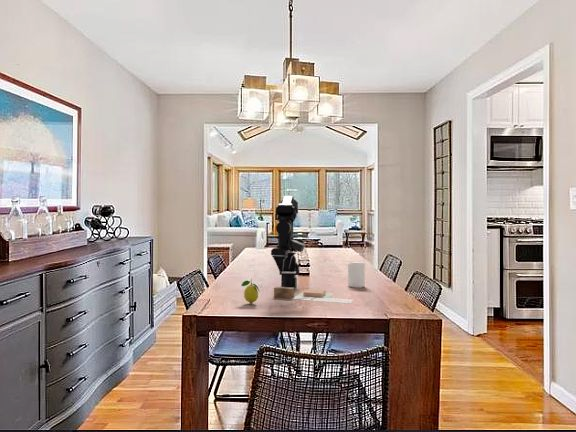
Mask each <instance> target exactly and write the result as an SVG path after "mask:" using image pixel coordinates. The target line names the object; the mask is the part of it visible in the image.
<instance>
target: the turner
mask: <svg viewBox="0 0 576 432" xmlns="http://www.w3.org/2000/svg"><path fill="white" fill-rule="evenodd" d="M273 298H277V299H278V298H280V299H290V300H294V301H308V302H309V301H311V300H314V299H315V297H303V296H297V295H295V288H291V287H281V286H275V287H274V288H273Z"/></svg>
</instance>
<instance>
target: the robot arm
mask: <svg viewBox="0 0 576 432" xmlns="http://www.w3.org/2000/svg"><path fill="white" fill-rule="evenodd" d="M297 214H299V202H298V201H297V200H296V199H295V198H294V195H293V196H292V195H283V196H282V199H281V201H280V202H279V203H278V204H277V206H275V216H274V220H275V221H278V222H277V224H276V226H275V231H276V232H277V236H276V239H277V245H276V247H273V248H272V249H271V251H270V256H272V258H273V260H274V262H275V265H276V267H277V269H278V271H279V272H278V273H279V276H281V277H280V279H281V281H280V282H281V283H280V284H281V285H280V287H291V288H294V289H295V288H296V287H297V286H298V283H297V282H298V277H297V276H298V275H300V265H299V264H298V262H297V258H296V254H297V252H299V253H302V252H303V251H304V249H305V248H306V243H305V240H303V239H299V240H295V239H294V238H295V237H294V222H295V220H296V219H297V217H298V215H297Z"/></svg>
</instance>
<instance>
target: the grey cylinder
mask: <svg viewBox="0 0 576 432" xmlns="http://www.w3.org/2000/svg"><path fill="white" fill-rule="evenodd" d="M348 262H349V263H348V264H347V265H348V266H347V286H348V287H350V288H353V289H354V288H356V289H360V288H363V287H365V286H366V281H365V280H366V264H365V262H364V261H360V260H351V261H348Z"/></svg>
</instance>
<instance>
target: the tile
mask: <svg viewBox="0 0 576 432" xmlns="http://www.w3.org/2000/svg"><path fill="white" fill-rule="evenodd" d="M304 291H305V292H303V291H302V292H303V296H312V297H314V298H316V297H322V296H324V295H325V294H326V293H327V290H324V289H313V288H312V289H309V288H308V289H305V290H304ZM303 296H302V297H303Z"/></svg>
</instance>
